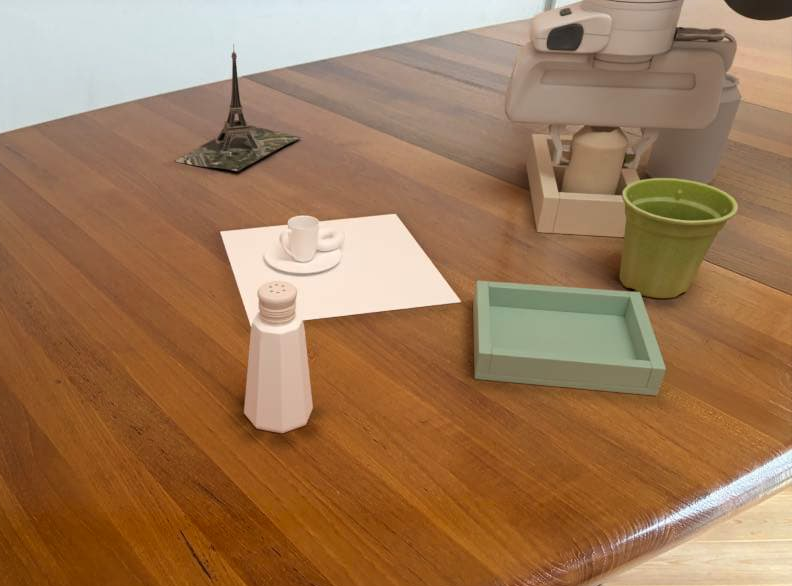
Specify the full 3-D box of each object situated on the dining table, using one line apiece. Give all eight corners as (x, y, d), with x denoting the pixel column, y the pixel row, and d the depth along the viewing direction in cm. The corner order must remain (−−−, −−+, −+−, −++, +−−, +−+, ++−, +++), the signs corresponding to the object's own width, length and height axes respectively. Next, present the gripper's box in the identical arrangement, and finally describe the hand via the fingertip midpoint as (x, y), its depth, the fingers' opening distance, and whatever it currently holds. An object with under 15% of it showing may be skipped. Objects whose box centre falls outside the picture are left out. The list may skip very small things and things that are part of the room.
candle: (549, 218, 90) (568, 127, 84) (565, 200, 94) (585, 112, 88) (600, 229, 88) (623, 137, 82) (615, 211, 91) (638, 121, 85)
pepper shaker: (317, 431, 62) (321, 305, 55) (246, 437, 62) (241, 311, 55) (308, 389, 66) (310, 267, 60) (241, 394, 66) (236, 272, 59)
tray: (632, 317, 74) (640, 291, 72) (657, 396, 64) (666, 369, 63) (473, 304, 76) (477, 280, 75) (474, 379, 67) (478, 352, 65)
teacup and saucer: (338, 237, 88) (339, 201, 85) (358, 271, 82) (360, 234, 79) (257, 245, 87) (256, 209, 84) (272, 281, 81) (271, 243, 78)
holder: (613, 169, 101) (621, 137, 98) (639, 238, 86) (650, 202, 83) (526, 165, 103) (531, 133, 100) (536, 232, 88) (543, 197, 85)
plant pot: (719, 312, 74) (752, 223, 69) (609, 305, 75) (633, 217, 70) (693, 264, 81) (721, 179, 76) (593, 258, 83) (614, 175, 77)
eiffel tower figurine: (238, 176, 102) (234, 64, 94) (174, 161, 107) (165, 53, 99) (301, 140, 112) (302, 35, 104) (240, 127, 116) (237, 26, 108)
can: (638, 167, 101) (666, 65, 94) (704, 170, 100) (737, 67, 92) (649, 191, 95) (679, 85, 88) (718, 195, 94) (755, 87, 87)
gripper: (734, 20, 80) (691, 159, 88) (516, 16, 83) (495, 150, 92) (752, 37, 75) (705, 182, 83) (519, 31, 78) (497, 171, 87)
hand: (593, 165), depth 87 cm, fingers closed on candle, 5 cm apart
